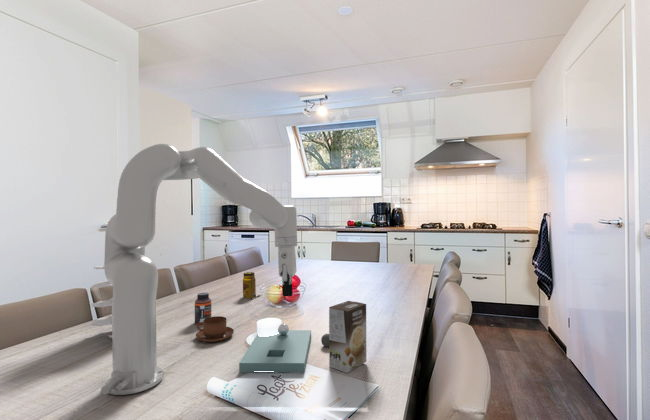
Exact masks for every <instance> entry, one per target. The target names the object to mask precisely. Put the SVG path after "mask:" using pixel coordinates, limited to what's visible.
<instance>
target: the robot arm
mask: <svg viewBox="0 0 650 420" xmlns="http://www.w3.org/2000/svg"><path fill="white" fill-rule="evenodd" d="M122 170H123V171H122V172H121V174H120V178H119V180H118V187H117V198H116V210H115V214H114V215H113V216H112V217H111V218H110V219H108V220H109V221H108V222H107V224H106V229H105V234H104V235H105V238H104V264H103V265H104V269H103V271H104V275H105V278H106V279H107V282H110V283H111V284H112V285H113V286H112V298H113V300H112V306H111V316H112V325H111V327H112V328H111V331H112V333H111V335H112V338H111V340H112V343H111V344H112V372H111V373H110V374H111V375H110V377H109V378H108V379H107V381H106V382H105V384H104V385H103V386H102V387H101V388H100V392H101V394H103V395H104V396H105V395H108V394H109V395H115V396H124V395H125V396H126V395H127V396H128V395H132V394H133V395H134V394H137V393H141V392H143V391H146V390H149V389H151V388H153V387H156V385H158V384H159V383H160V382H161V381H162V380H163V379H164V370H163V369H162V368H161V367H159V366H158V365H157V361H158V359H157V354H158V353H157V293H158V292H157V291H158V284H159V272H158V268H157V265H156V263H155V262H154V261H153V260H152V259H151V258H149V257H148V256H146V255H145V253H146V247H147V246H148V245H149V244H151V243H152V242H153V240H154V237H155V236H156V213H157V212H156V208H157V207H156V205H157V204H156V203H157V194H158V190H159V188H160V185H161V183H162V182H163V181H179V180H180V181H181V180H182V181H183V180H193V179H200V180H201V181H202V182H203V183H204V184H206V185H207V186H208V187H209V188H211V189H212V190H213V191H214V192H215V193H216V194H217V195H219V196H220V197H221V198H222V199H224V200H226V201H228V202H230V203H232V204H235V205H238V206H242V207H244V208H247V209H249V210H250V212H249V215H248V218H249V222H250V223H251V225H253V226H254V227H256V228H258V229H269V230H270V229H271V230H274V247H275V248H277V252H278V254H277V258H278V259H277V263H278V267H277V268H278V269H277V270H278V276H279V277H281V282H282V283H281V284H282V285H281V286H282V287H281V289H282V297H293V291H294V290H293V277H294V276H295V275H296V273H297V258H296V257H297V256H296V248H295V247H298V230H297V229H298V228H297V227H298V226H297V223H298V222H297V221H298V220H297V218H298V217H297V208H296V206H294V205H289V204H286V205H285V204H284V205H283V204H282V203H281V202H280V201H278V199H276V197H275V196H273V195H272V194H270V192H268V191H266V189H264V188H262V187H260V186H258V185H256V184H255V183H253V182H251V181H249V180H248V179H246V178H244V177H243V176H242V175H241V174H240V173H238V172H237V170H235V169H234V168H233V167H232V166H231V164H229V163H228V162H226V161H225V160H224V159H223V158H222V157H221V156H220V155H219V154H218V153H217V152H216V151H214V150H213V149H211V148H210V147H208V146H207V147H206V146H200V147H196V148H192V149H189V150H181V151H180V150H179V151H178V150H177V148H176V147H174V146H173V145H171V144H168V143H157V144H153V145H151V146H148V147H145V148H144V149H142V150H140V151H139V152H137V153H136V154H135V155H134V156H133V157H132V158H130V160H128V162H127V163H126V165H125V166H124V169H122Z"/></svg>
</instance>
